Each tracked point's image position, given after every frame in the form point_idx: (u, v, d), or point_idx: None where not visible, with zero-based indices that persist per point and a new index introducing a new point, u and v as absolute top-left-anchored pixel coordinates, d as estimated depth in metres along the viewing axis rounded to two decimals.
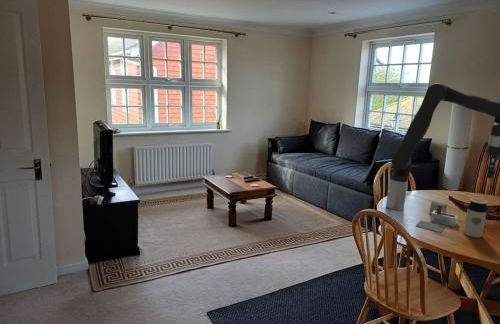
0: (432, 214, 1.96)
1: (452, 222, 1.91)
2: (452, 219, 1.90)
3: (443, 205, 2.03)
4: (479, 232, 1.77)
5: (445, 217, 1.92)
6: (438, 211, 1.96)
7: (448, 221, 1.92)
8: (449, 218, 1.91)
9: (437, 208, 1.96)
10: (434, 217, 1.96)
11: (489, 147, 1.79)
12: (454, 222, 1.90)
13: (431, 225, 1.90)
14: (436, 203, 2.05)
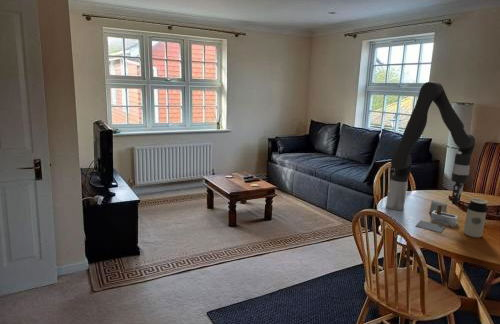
0: (432, 214, 1.96)
1: (452, 222, 1.91)
2: (452, 219, 1.90)
3: (443, 205, 2.04)
4: (479, 232, 1.77)
5: (445, 217, 1.92)
6: (438, 211, 1.96)
7: (448, 221, 1.92)
8: (449, 218, 1.91)
9: (437, 208, 1.96)
10: (434, 217, 1.96)
11: (453, 175, 1.87)
12: (454, 222, 1.90)
13: (431, 225, 1.90)
14: (436, 203, 2.05)
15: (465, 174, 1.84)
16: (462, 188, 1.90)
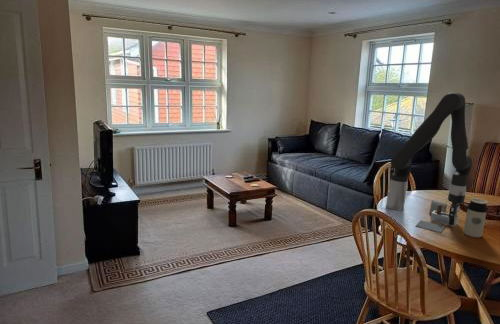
0: (432, 214, 1.96)
1: None
2: None
3: (443, 205, 2.04)
4: (479, 232, 1.77)
5: (445, 217, 1.92)
6: (438, 211, 1.96)
7: (448, 221, 1.92)
8: None
9: (437, 208, 1.96)
10: (434, 217, 1.96)
11: (450, 195, 1.90)
12: (454, 222, 1.90)
13: (431, 225, 1.90)
14: (436, 203, 2.06)
15: (462, 195, 1.86)
16: (458, 208, 1.92)
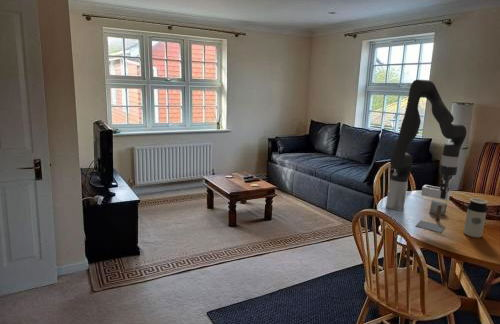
0: (423, 188, 1.86)
1: None
2: None
3: (443, 204, 2.05)
4: (479, 232, 1.77)
5: (437, 191, 1.82)
6: (438, 211, 1.96)
7: None
8: None
9: (437, 208, 1.96)
10: (425, 191, 1.85)
11: (441, 167, 1.79)
12: (446, 196, 1.79)
13: (431, 225, 1.90)
14: (436, 202, 2.06)
15: (454, 166, 1.75)
16: (450, 181, 1.82)
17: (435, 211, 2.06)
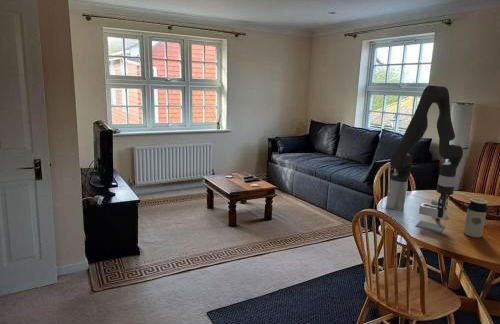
0: (421, 207, 1.88)
1: None
2: None
3: None
4: (479, 232, 1.77)
5: (434, 210, 1.84)
6: None
7: (437, 214, 1.83)
8: None
9: None
10: (423, 210, 1.87)
11: (438, 186, 1.81)
12: (443, 215, 1.82)
13: (431, 225, 1.90)
14: (436, 202, 2.07)
15: (450, 186, 1.78)
16: (447, 200, 1.84)
17: None
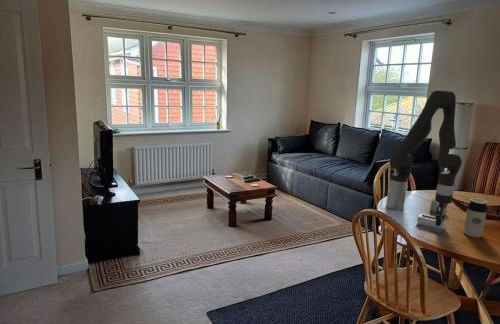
0: (419, 218, 1.89)
1: (439, 226, 1.84)
2: None
3: None
4: (479, 232, 1.77)
5: (432, 221, 1.85)
6: None
7: (435, 225, 1.85)
8: None
9: None
10: (421, 221, 1.89)
11: (437, 195, 1.82)
12: (441, 226, 1.83)
13: None
14: (436, 202, 2.07)
15: (449, 195, 1.79)
16: (446, 208, 1.85)
17: (435, 211, 2.07)
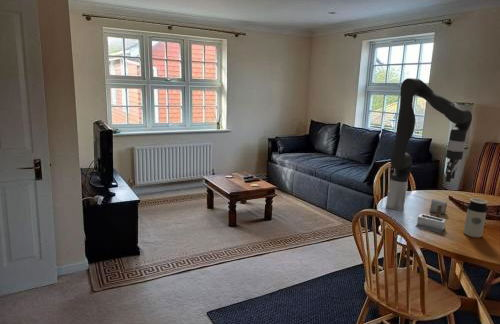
0: (419, 218, 1.89)
1: (439, 226, 1.84)
2: (439, 223, 1.83)
3: (443, 203, 2.06)
4: (479, 232, 1.77)
5: (432, 221, 1.85)
6: (438, 211, 1.96)
7: (435, 225, 1.85)
8: (436, 222, 1.84)
9: (437, 208, 1.96)
10: (421, 221, 1.89)
11: (447, 151, 1.83)
12: (441, 226, 1.83)
13: None
14: (436, 201, 2.08)
15: (460, 150, 1.79)
16: (456, 165, 1.86)
17: (435, 210, 2.07)
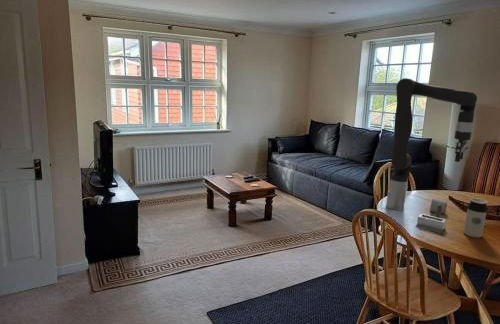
0: (419, 218, 1.89)
1: (439, 226, 1.84)
2: (439, 223, 1.83)
3: (443, 203, 2.06)
4: (479, 232, 1.77)
5: (432, 221, 1.85)
6: (438, 211, 1.96)
7: (435, 225, 1.85)
8: (436, 222, 1.84)
9: (437, 208, 1.96)
10: (421, 221, 1.89)
11: (456, 133, 1.91)
12: (441, 226, 1.83)
13: None
14: (436, 201, 2.08)
15: (468, 131, 1.87)
16: (465, 146, 1.94)
17: (435, 210, 2.08)
